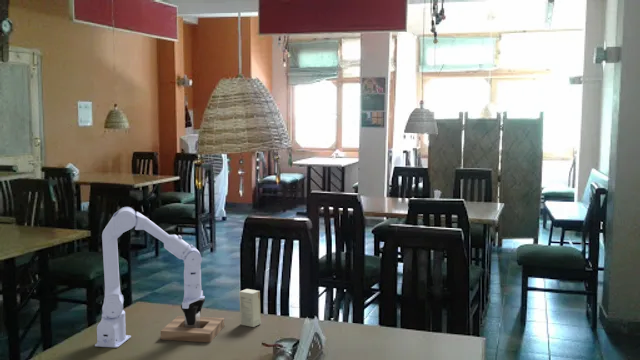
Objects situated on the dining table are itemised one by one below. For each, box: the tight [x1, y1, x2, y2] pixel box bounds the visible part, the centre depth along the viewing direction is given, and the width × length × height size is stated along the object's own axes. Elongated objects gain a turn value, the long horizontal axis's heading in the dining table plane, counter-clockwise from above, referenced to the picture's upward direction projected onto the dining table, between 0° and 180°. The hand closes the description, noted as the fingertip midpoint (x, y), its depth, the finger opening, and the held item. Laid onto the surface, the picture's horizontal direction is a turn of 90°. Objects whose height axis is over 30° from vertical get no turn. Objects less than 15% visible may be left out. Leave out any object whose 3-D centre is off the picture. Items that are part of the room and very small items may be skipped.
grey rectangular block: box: [183, 311, 201, 328], centre depth 193 cm, size 4×4×6 cm
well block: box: [160, 315, 225, 343], centre depth 194 cm, size 15×17×3 cm
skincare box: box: [239, 288, 262, 328], centre depth 202 cm, size 6×4×12 cm
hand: (193, 322), depth 193 cm, fingers closed on grey rectangular block, 4 cm apart
